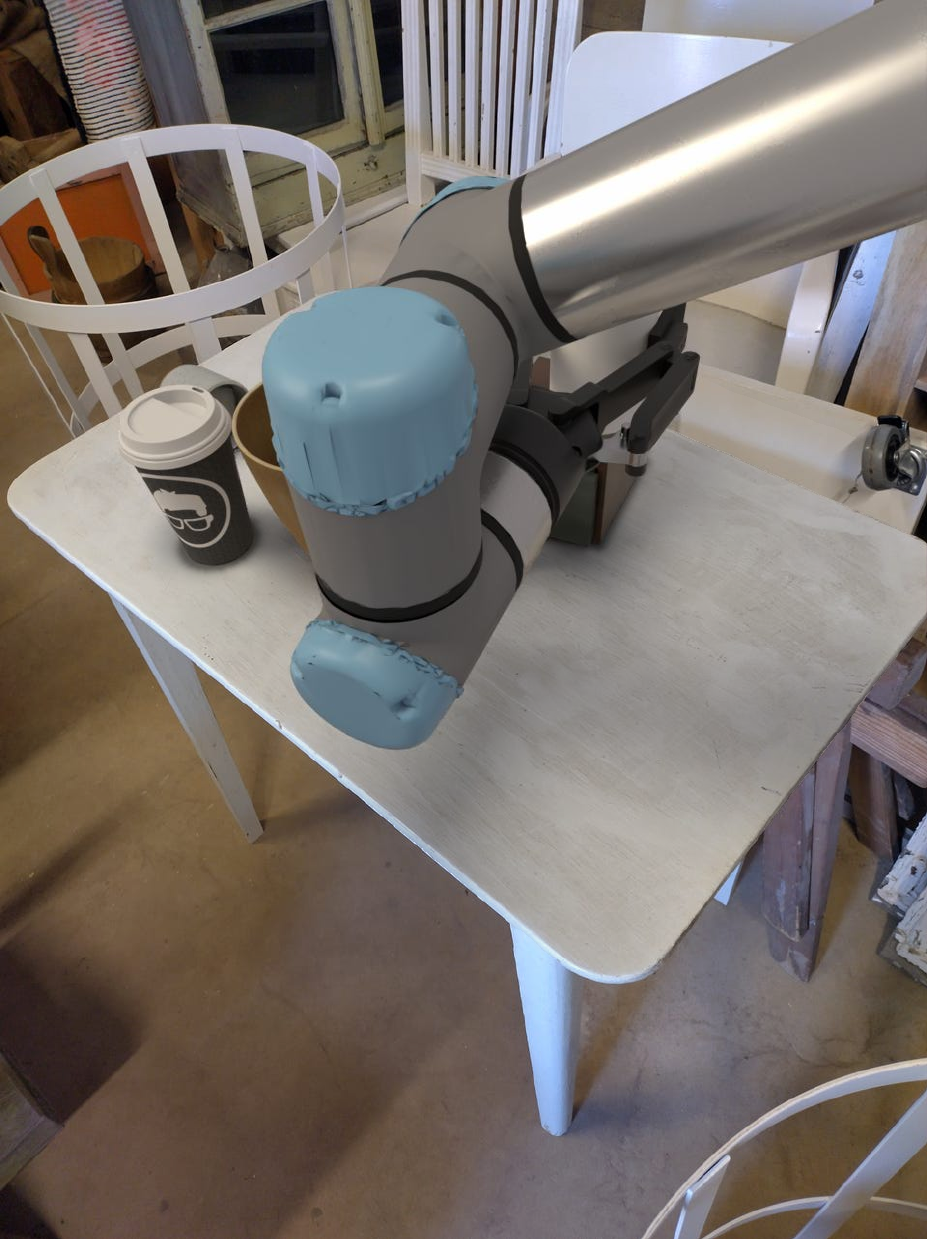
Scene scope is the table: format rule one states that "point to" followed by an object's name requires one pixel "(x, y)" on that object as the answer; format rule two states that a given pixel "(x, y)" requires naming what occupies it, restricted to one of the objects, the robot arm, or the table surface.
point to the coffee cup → (189, 468)
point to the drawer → (579, 513)
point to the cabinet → (610, 475)
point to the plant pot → (264, 457)
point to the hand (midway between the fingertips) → (627, 294)
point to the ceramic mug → (209, 386)
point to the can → (600, 359)
